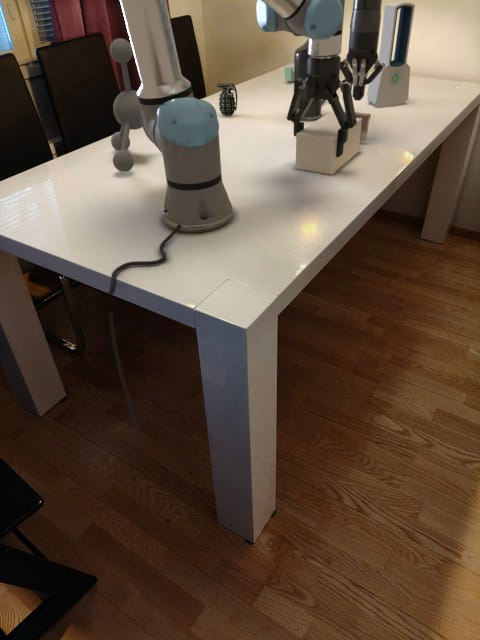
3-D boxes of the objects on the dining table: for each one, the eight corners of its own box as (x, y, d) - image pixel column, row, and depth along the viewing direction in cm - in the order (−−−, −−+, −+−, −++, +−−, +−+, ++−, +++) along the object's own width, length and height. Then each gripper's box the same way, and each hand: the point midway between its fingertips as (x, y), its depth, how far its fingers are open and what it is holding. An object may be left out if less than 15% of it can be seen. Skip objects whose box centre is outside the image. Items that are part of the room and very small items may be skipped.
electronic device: (375, 107, 168) (387, 4, 150) (365, 102, 174) (375, 2, 155) (407, 103, 170) (423, 1, 152) (396, 98, 176) (410, -1, 158)
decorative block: (306, 53, 217) (348, 56, 208) (306, 69, 221) (346, 73, 212) (276, 65, 201) (319, 68, 192) (276, 82, 205) (318, 86, 196)
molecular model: (197, 163, 134) (184, 38, 115) (117, 178, 128) (90, 49, 109) (174, 139, 151) (159, 27, 133) (103, 151, 145) (77, 36, 127)
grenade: (217, 117, 168) (214, 86, 162) (221, 112, 172) (219, 82, 166) (235, 117, 166) (233, 86, 160) (239, 113, 171) (238, 82, 165)
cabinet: (324, 146, 139) (326, 114, 134) (358, 151, 135) (362, 118, 129) (295, 168, 128) (296, 133, 122) (332, 174, 123) (334, 139, 118)
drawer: (344, 130, 147) (346, 106, 143) (373, 133, 143) (376, 109, 139) (312, 153, 133) (313, 127, 128) (344, 158, 128) (346, 132, 124)
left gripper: (378, 55, 109) (367, 153, 122) (287, 50, 119) (286, 141, 132) (366, 61, 104) (356, 163, 117) (272, 55, 114) (273, 150, 127)
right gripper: (394, 27, 126) (385, 98, 137) (346, 25, 132) (341, 94, 142) (385, 32, 121) (376, 105, 132) (335, 30, 127) (330, 100, 138)
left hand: (319, 152), depth 125 cm, fingers closed on cabinet, 10 cm apart
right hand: (357, 99), depth 137 cm, fingers closed
